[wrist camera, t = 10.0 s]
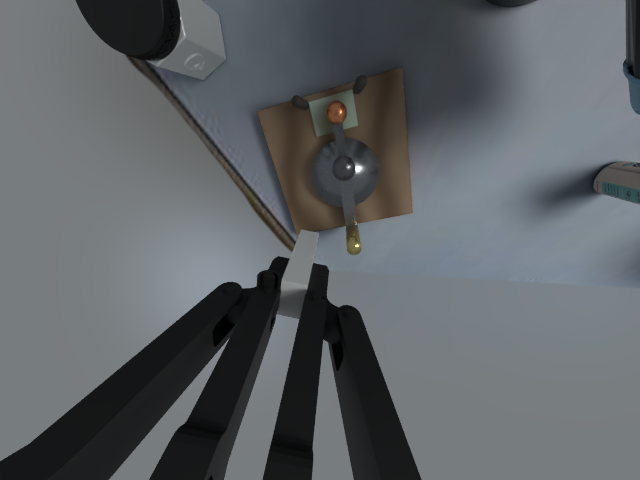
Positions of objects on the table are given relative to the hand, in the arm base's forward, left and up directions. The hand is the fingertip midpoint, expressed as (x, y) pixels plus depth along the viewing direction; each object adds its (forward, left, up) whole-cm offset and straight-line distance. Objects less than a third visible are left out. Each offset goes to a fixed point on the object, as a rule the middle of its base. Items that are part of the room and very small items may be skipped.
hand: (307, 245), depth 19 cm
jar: (+12, -22, -22) cm, 33 cm away
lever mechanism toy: (-3, -2, -21) cm, 22 cm away
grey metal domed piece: (-4, -1, -19) cm, 20 cm away
